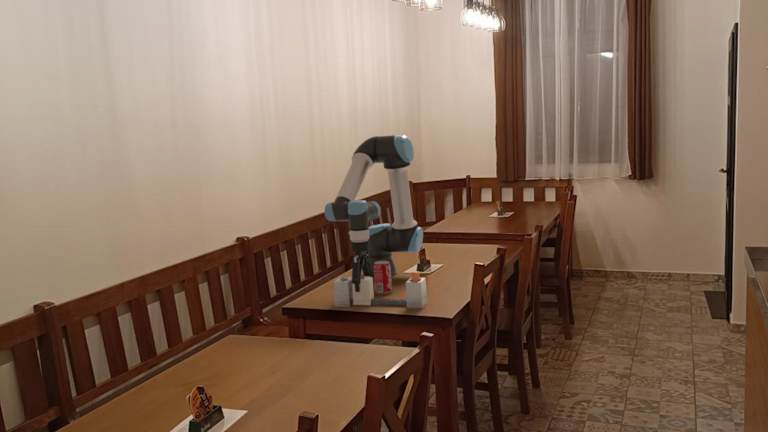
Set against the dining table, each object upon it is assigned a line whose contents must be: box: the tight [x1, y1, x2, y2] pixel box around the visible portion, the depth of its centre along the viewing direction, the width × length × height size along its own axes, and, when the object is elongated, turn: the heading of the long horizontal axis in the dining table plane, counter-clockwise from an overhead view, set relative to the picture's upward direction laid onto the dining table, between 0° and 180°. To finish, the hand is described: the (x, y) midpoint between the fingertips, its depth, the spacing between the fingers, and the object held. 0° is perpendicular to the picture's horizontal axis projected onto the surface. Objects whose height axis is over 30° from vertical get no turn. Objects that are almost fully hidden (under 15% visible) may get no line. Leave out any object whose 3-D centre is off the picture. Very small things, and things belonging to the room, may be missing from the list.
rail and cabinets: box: [332, 276, 428, 309], centre depth 271 cm, size 8×35×11 cm, turn 74°
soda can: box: [373, 261, 393, 295], centre depth 289 cm, size 7×7×13 cm
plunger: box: [411, 270, 421, 281], centre depth 266 cm, size 3×3×6 cm
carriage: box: [352, 275, 375, 306], centre depth 273 cm, size 5×7×11 cm
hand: (363, 295), depth 273 cm, fingers open, 10 cm apart
